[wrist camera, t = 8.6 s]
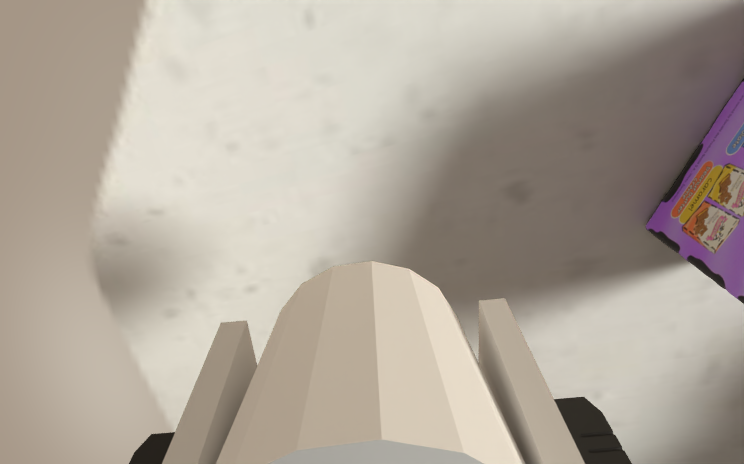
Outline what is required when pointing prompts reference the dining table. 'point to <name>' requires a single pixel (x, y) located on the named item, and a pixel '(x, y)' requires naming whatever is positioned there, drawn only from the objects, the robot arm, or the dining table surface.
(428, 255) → the dining table surface
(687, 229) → the candy box
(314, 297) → the shot glass
